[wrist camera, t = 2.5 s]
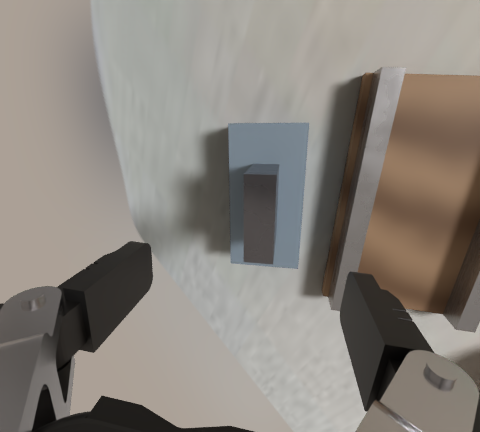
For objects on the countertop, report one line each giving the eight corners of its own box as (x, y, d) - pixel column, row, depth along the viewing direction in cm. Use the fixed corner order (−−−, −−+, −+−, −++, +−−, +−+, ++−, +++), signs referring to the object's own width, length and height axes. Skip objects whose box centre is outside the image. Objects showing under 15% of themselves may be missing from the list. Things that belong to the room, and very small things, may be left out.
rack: (362, 75, 20) (374, 66, 18) (554, 80, 18) (601, 72, 16) (321, 290, 27) (325, 308, 24) (459, 310, 25) (481, 333, 22)
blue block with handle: (237, 124, 23) (209, 121, 15) (305, 123, 22) (316, 120, 14) (238, 244, 27) (216, 296, 19) (296, 248, 26) (300, 305, 18)
